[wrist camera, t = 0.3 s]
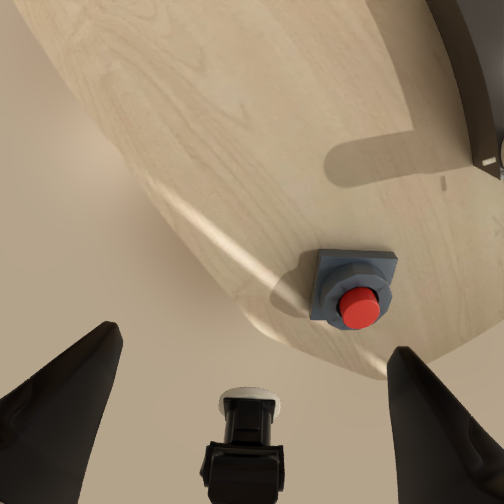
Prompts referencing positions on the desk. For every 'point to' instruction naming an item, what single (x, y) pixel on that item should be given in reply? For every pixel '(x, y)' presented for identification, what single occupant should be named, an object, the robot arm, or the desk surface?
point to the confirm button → (359, 308)
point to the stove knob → (502, 153)
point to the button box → (350, 281)
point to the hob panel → (477, 71)
